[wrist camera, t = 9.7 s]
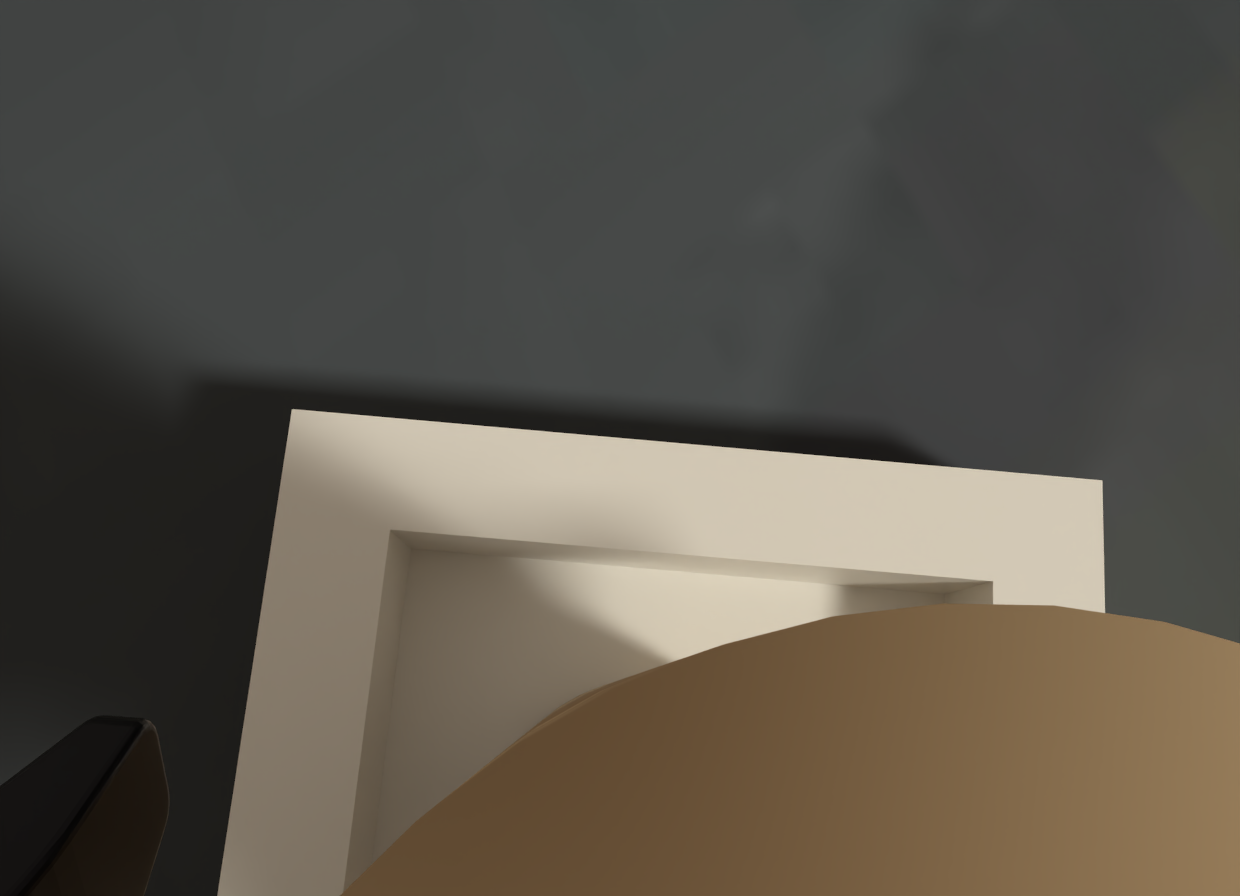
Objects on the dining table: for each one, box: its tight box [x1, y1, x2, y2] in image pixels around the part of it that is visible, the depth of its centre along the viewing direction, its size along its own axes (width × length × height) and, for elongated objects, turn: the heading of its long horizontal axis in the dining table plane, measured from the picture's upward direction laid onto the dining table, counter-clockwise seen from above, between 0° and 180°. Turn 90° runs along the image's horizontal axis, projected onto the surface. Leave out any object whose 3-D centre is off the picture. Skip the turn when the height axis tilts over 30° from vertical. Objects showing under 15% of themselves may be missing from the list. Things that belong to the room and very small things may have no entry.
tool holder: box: [217, 409, 1105, 896], centre depth 15 cm, size 11×11×2 cm
